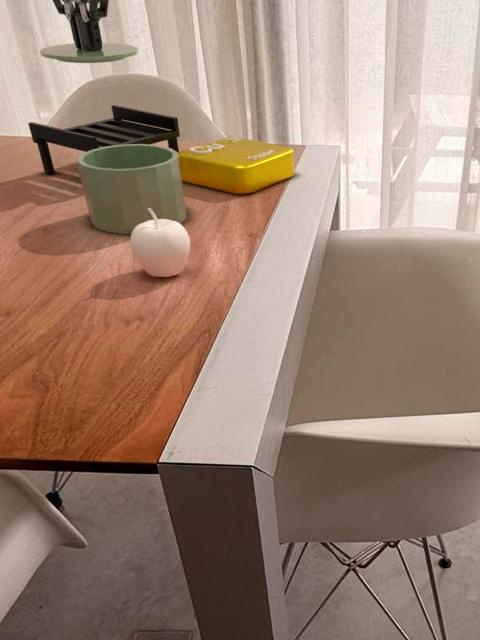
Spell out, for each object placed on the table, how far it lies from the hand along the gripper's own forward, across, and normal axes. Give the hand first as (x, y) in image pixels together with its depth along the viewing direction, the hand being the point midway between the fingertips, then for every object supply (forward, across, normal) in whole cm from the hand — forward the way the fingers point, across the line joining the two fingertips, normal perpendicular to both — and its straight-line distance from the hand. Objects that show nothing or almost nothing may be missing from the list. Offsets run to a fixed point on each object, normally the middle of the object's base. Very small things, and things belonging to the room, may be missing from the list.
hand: (89, 48), depth 108 cm
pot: (+18, +22, -14) cm, 32 cm away
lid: (+1, 0, 0) cm, 1 cm away
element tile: (+18, +20, +10) cm, 29 cm away
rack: (+18, 0, 0) cm, 18 cm away
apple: (+18, +40, -26) cm, 51 cm away
